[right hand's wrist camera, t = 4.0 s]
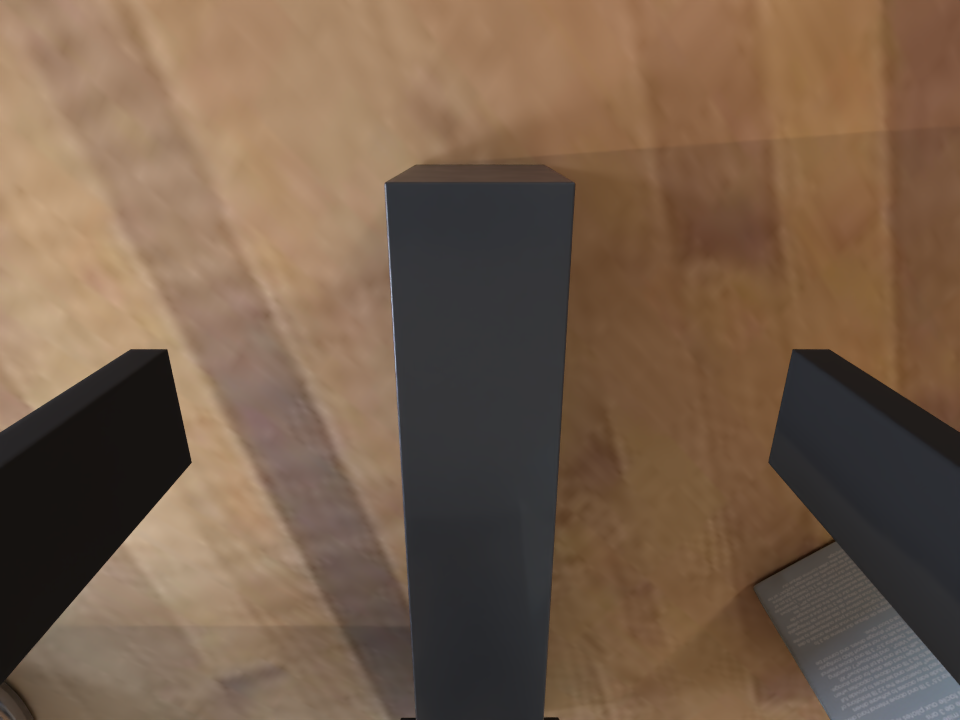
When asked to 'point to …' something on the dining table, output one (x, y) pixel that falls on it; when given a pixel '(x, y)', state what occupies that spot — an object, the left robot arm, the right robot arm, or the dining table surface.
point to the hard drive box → (855, 643)
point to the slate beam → (479, 425)
